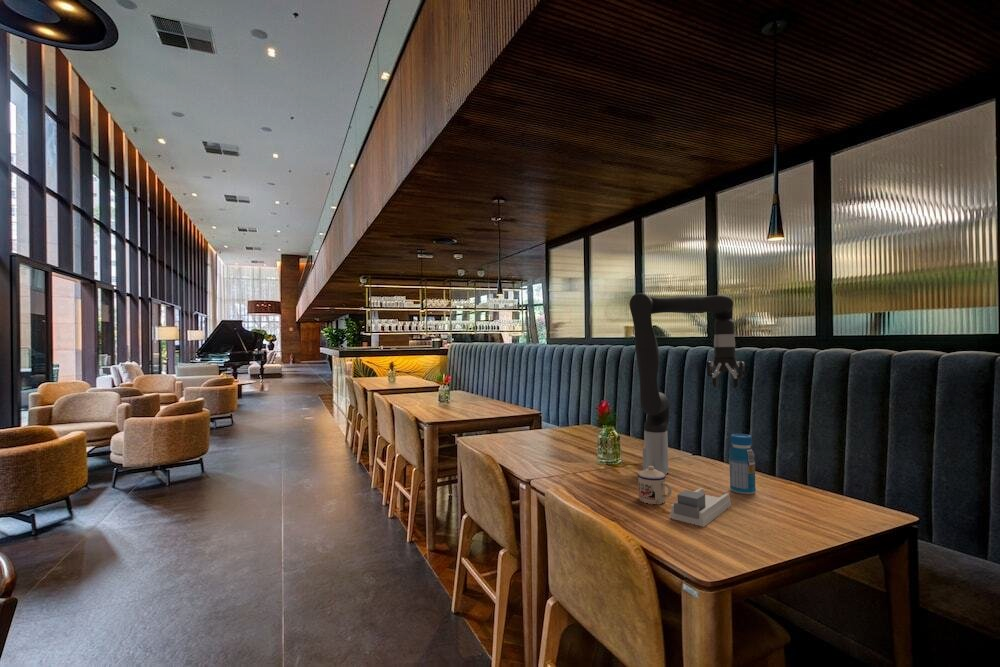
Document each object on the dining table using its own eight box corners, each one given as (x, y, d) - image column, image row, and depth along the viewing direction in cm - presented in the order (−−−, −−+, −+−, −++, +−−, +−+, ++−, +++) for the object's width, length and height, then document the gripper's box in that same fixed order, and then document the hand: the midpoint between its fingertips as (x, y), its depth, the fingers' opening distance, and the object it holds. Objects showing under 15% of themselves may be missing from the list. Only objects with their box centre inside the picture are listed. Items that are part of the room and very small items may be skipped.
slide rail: (669, 518, 139) (669, 502, 139) (699, 499, 155) (699, 484, 156) (703, 527, 132) (702, 510, 132) (730, 506, 148) (730, 490, 149)
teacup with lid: (632, 499, 156) (631, 465, 156) (648, 494, 162) (648, 461, 162) (663, 509, 146) (662, 473, 147) (679, 503, 152) (678, 468, 152)
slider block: (677, 511, 139) (677, 494, 139) (685, 505, 143) (685, 489, 143) (697, 516, 134) (697, 498, 134) (705, 510, 139) (705, 494, 139)
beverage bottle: (733, 494, 160) (731, 437, 161) (727, 486, 168) (725, 432, 169) (759, 495, 158) (757, 438, 159) (752, 488, 166) (750, 433, 167)
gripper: (702, 346, 183) (703, 387, 182) (741, 345, 173) (742, 389, 172) (709, 346, 188) (710, 386, 188) (747, 345, 178) (748, 388, 178)
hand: (725, 387), depth 180 cm, fingers open, 6 cm apart
